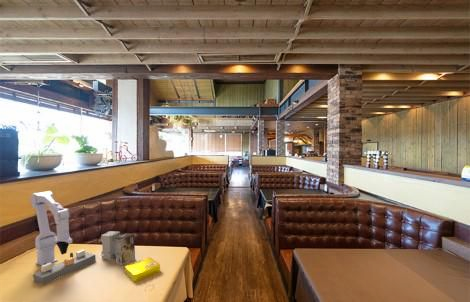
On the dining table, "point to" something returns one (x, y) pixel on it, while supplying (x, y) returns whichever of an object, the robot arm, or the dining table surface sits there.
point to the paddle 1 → (46, 267)
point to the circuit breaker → (109, 244)
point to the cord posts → (70, 257)
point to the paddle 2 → (80, 253)
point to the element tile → (142, 269)
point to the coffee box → (124, 249)
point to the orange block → (69, 261)
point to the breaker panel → (63, 269)
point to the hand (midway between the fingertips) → (63, 253)
